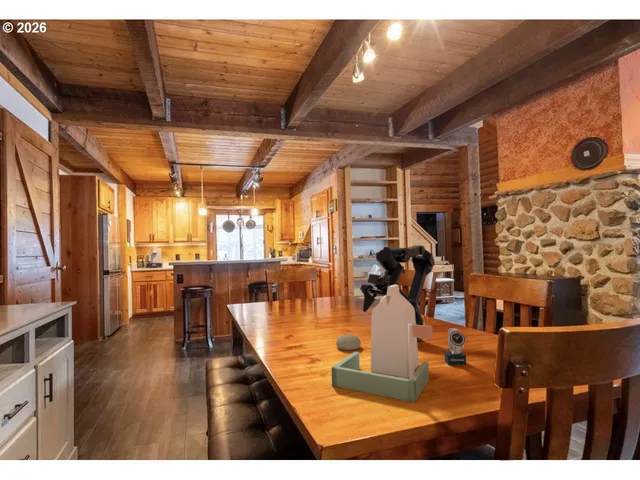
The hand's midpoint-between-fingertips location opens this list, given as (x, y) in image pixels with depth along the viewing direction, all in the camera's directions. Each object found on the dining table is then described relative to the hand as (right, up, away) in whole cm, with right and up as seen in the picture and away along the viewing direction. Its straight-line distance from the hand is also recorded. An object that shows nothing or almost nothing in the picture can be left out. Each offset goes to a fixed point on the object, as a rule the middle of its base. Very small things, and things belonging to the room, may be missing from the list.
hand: (373, 313), depth 122 cm
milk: (+5, -14, -13) cm, 20 cm away
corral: (0, -14, -26) cm, 29 cm away
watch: (+25, -14, -10) cm, 31 cm away
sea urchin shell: (-8, -15, +9) cm, 19 cm away
